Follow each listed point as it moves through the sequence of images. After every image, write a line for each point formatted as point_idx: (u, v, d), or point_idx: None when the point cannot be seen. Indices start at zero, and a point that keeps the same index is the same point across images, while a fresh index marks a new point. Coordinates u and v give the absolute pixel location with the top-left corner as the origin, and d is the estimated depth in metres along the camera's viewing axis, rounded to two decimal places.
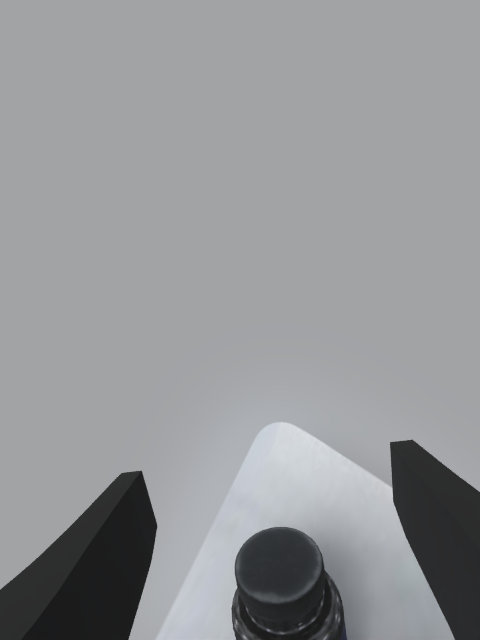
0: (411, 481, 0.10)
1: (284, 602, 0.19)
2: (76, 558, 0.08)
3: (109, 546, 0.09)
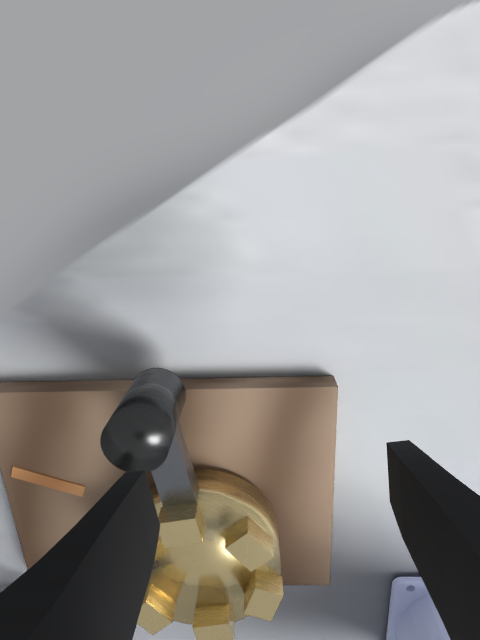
0: (407, 481, 0.10)
1: None
2: (81, 558, 0.08)
3: (113, 546, 0.09)
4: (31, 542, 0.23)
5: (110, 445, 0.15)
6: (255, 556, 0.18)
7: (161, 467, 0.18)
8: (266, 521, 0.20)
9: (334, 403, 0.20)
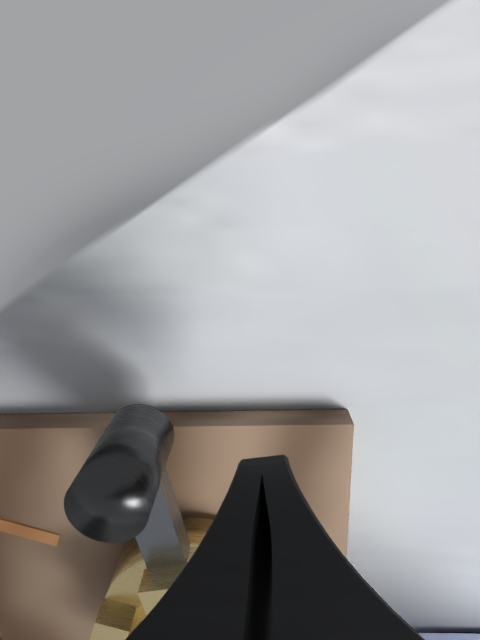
0: None
1: None
2: (247, 541, 0.08)
3: (259, 531, 0.09)
4: (0, 595, 0.20)
5: (77, 509, 0.12)
6: None
7: None
8: None
9: (349, 443, 0.17)
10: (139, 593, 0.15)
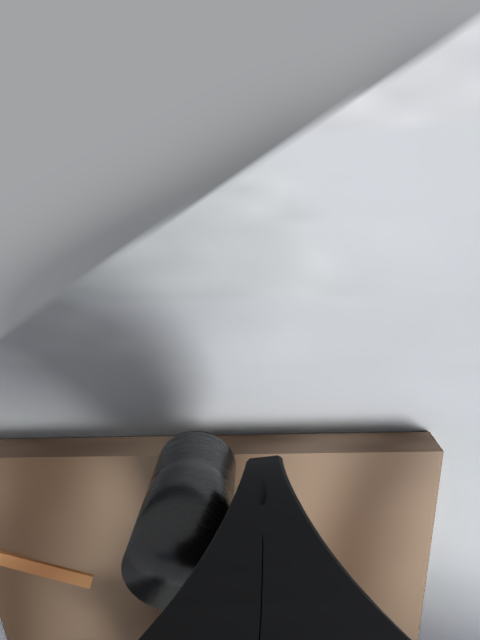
0: None
1: None
2: (258, 540, 0.08)
3: None
4: None
5: (137, 573, 0.10)
6: None
7: None
8: None
9: (436, 473, 0.14)
10: None
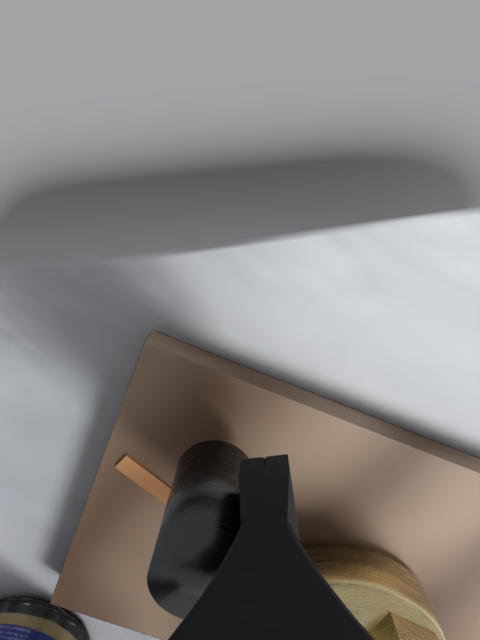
0: None
1: None
2: (283, 538, 0.08)
3: None
4: (85, 555, 0.16)
5: (166, 592, 0.10)
6: None
7: None
8: (415, 605, 0.14)
9: None
10: None
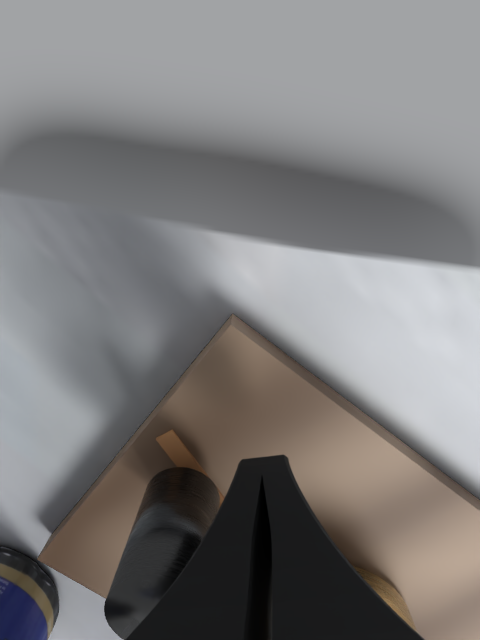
0: None
1: None
2: (247, 541, 0.08)
3: (260, 531, 0.09)
4: (91, 519, 0.16)
5: (124, 624, 0.10)
6: None
7: None
8: None
9: None
10: None
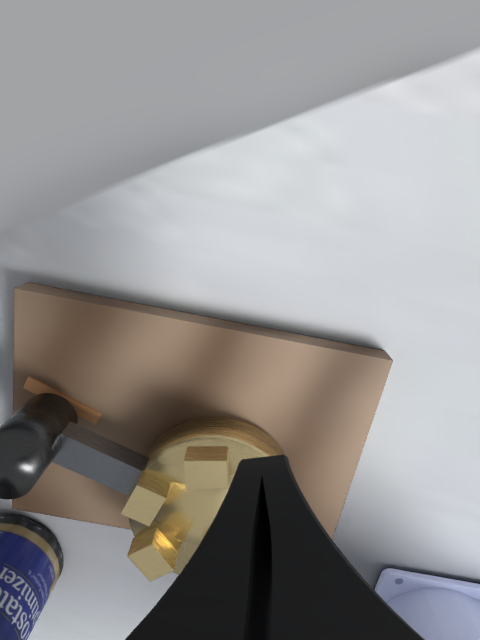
0: None
1: None
2: (247, 541, 0.08)
3: (260, 531, 0.09)
4: None
5: None
6: (213, 473, 0.17)
7: (89, 468, 0.18)
8: (220, 436, 0.18)
9: (384, 377, 0.19)
10: (121, 513, 0.18)
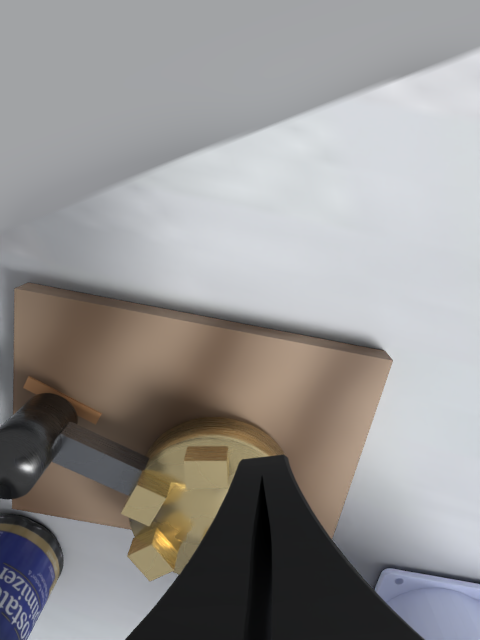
0: None
1: None
2: (247, 541, 0.08)
3: (259, 531, 0.09)
4: None
5: None
6: (213, 473, 0.17)
7: (89, 468, 0.18)
8: (220, 436, 0.18)
9: (384, 377, 0.19)
10: (121, 513, 0.18)
